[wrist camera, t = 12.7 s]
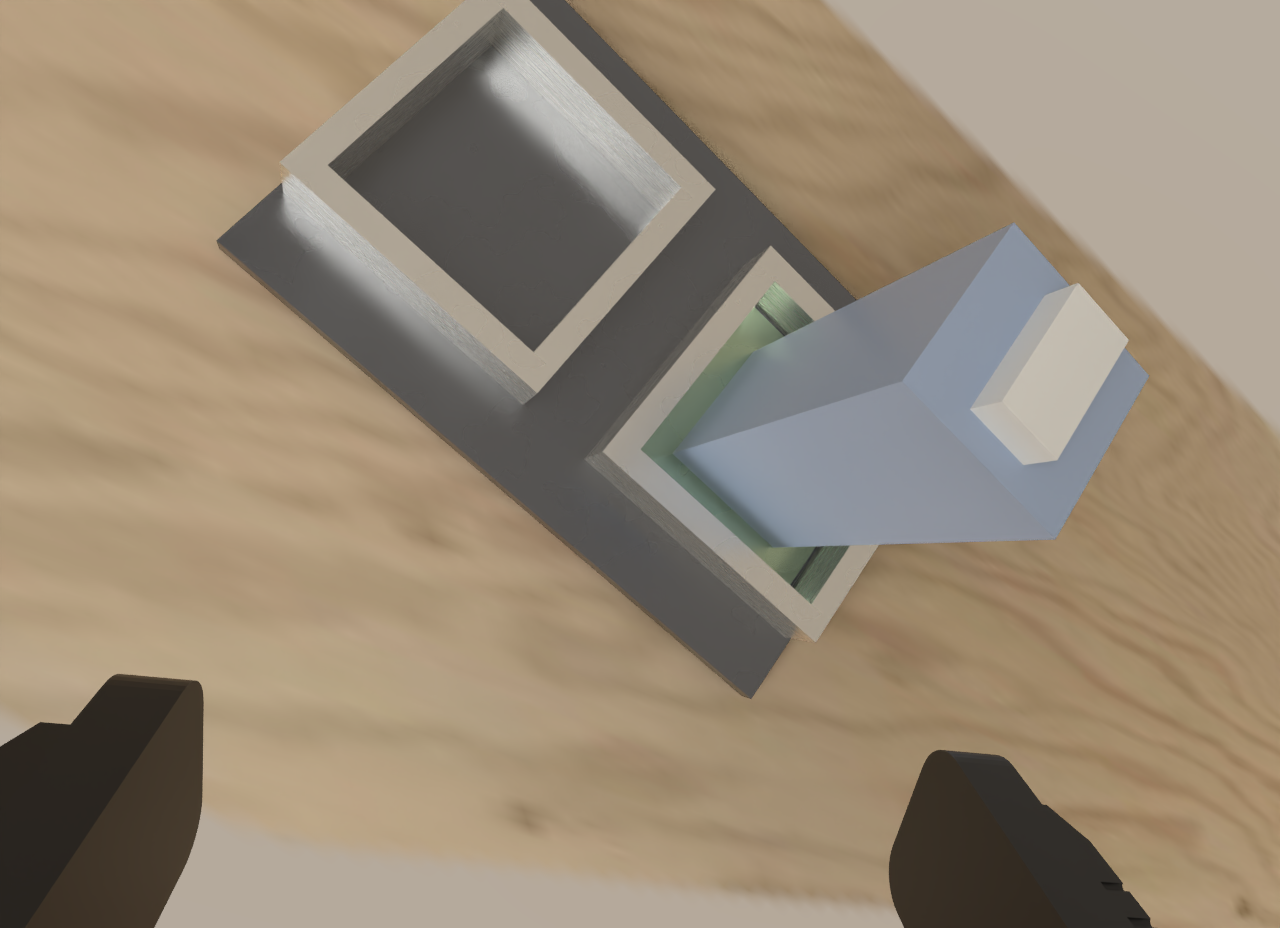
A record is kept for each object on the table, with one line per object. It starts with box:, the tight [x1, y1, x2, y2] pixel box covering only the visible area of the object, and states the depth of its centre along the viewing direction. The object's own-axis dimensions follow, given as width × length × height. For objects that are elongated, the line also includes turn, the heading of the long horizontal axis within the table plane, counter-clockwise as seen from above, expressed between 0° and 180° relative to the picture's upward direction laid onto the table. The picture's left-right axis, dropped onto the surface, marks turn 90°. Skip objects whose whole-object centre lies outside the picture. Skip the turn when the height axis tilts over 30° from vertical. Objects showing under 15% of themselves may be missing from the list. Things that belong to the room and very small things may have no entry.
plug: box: [672, 223, 1149, 548], centre depth 21 cm, size 4×4×12 cm
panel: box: [217, 0, 878, 699], centre depth 25 cm, size 20×13×2 cm, turn 50°
